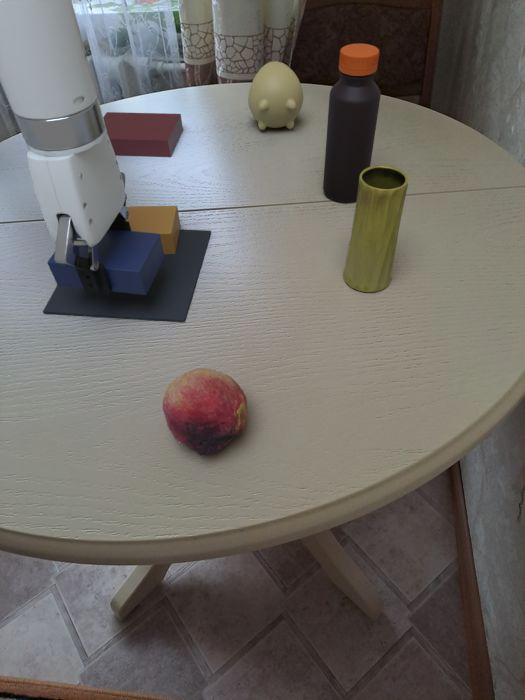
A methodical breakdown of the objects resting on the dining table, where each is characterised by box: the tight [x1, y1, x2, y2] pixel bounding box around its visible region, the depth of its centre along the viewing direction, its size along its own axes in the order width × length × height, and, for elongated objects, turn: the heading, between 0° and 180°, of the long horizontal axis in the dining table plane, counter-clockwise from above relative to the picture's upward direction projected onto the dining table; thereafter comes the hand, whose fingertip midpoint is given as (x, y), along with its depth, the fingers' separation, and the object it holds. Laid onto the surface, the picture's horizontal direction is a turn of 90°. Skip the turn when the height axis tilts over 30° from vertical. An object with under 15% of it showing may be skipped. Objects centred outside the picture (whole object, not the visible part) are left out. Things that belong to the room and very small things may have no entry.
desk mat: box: [42, 228, 212, 323], centre depth 67 cm, size 18×18×1 cm
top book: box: [126, 205, 182, 255], centre depth 69 cm, size 10×7×4 cm
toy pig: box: [247, 61, 304, 131], centre depth 90 cm, size 10×12×11 cm
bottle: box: [322, 43, 382, 204], centre depth 70 cm, size 7×7×20 cm
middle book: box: [46, 229, 165, 295], centre depth 59 cm, size 11×7×4 cm, turn 79°
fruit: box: [161, 367, 248, 456], centre depth 47 cm, size 8×8×8 cm
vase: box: [342, 164, 409, 293], centre depth 59 cm, size 6×6×14 cm
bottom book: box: [103, 111, 184, 158], centre depth 90 cm, size 14×10×3 cm
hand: (111, 268), depth 60 cm, fingers closed on middle book, 7 cm apart
